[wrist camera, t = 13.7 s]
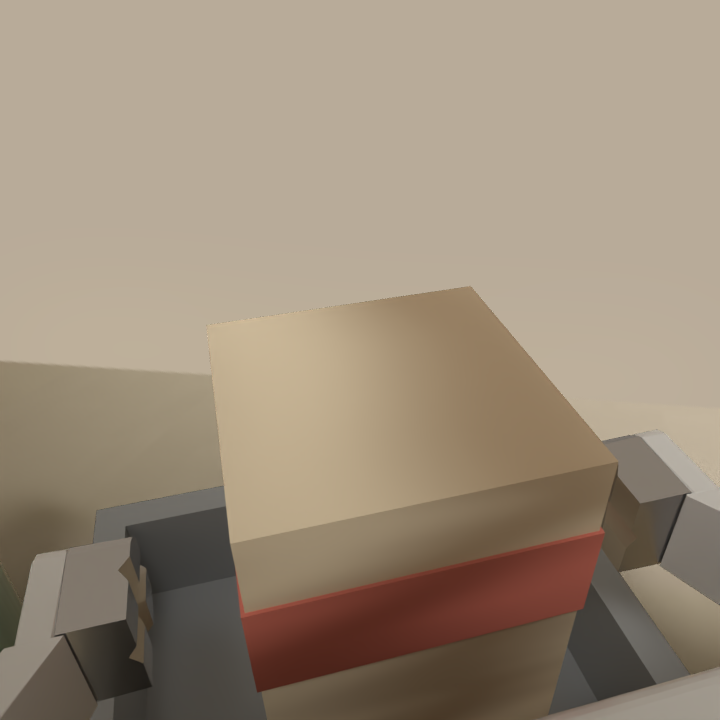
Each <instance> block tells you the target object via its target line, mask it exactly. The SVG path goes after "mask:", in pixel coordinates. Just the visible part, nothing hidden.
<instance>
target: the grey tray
mask: <svg viewBox="0 0 720 720" xmlns="http://www.w3.org/2000/svg"><path fill="white" fill-rule="evenodd" d="M128 537H135V538H136V540H137V543H138V546H139V548H140V565H141V566H143V567H145V568H146V569H147V572H148V575H149V579H150V584H151V589H152V597H153V608H154V624H153V626H152V627H151V628H150V630H149V631H148V635H149V638H150V641H151V644H152V647H153V679H152V687H150V688H146V689H143V690H139V691H135V692H132V693H128V694H124V695H121V696H117V697H113V698H110V699H106V700H102V701H99V702H97V705H98V706H97V708H96V709H95V711H94V713H93V715H92V716H91V718H90V720H267V716H266V711H265V707H264V702H263V697H262V692H258V693H257V690H256V685H255V681H254V676H253V672H252V667H251V662H250V658H249V653H248V649H247V644H246V639H245V635H244V630H243V626H242V621H241V615H240V606H239V597H238V589H237V580H236V571H235V564H234V560H233V555H232V550H231V545H230V538H229V528H228V519H227V510H226V501H225V492H224V486H220V487H215V488H210V489H204V490H199V491H194V492H189V493H184V494H179V495H173V496H168V497H163V498H158V499H153V500H147V501H142V502H137V503H132V504H127V505H121V506H116V507H111V508H106V509H101V510H97V512H96V521H95V530H94V538H93V544H95V543H100V542H106V541H112V540H117V539H123V538H128ZM688 675H690V674H689V672H688V671H687V669H686V668H685V666H684V665H683V663H682V662H681V661H680V659H679V658H678V656H677V655H676V653H675V652H674V651H673V649H672V648H671V646H670V645H669V643H668V642H667V641H666V639H665V638H664V636H663V635H662V633H661V632H660V631H659V629H658V628H657V626H656V625H655V623H654V622H653V620H652V619H651V618H650V616H649V615H648V613H647V612H646V610H645V609H644V608H643V606H642V605H641V603H640V602H639V600H638V599H637V598H636V596H635V595H634V593H633V592H632V590H631V589H630V588H629V586H628V585H627V583H626V582H625V580H624V579H623V577H622V576H621V575H620V573H619V572H618V571H617V570H616V568H615V567H614V566H613V564H612V563H611V561H610V560H609V559H608V557H607V556H606V554H605V553H604V552H603V550H602V549H600V552H599V556H598V559H597V563H596V566H595V570H594V573H593V577H592V580H591V584H590V587H589V591H588V594H587V598H586V601H585V605H584V608H583V609H581V610H577V613H576V616H575V620H574V624H573V627H572V631H571V634H570V638H569V641H568V645H567V649H566V652H565V656H564V659H563V663H562V667H561V670H560V674H559V677H558V681H557V685H556V688H555V692H554V695H553V699H552V703H551V706H550V710H549V713H548V715H551V714H555V713H558V712H562V711H565V710H569V709H572V708H576V707H579V706H583V705H586V704H590V703H593V702H597V701H600V700H604V699H607V698H611V697H614V696H618V695H621V694H625V693H628V692H632V691H635V690H639V689H642V688H646V687H650V686H653V685H657V684H660V683H664V682H667V681H671V680H674V679H678V678H681V677H685V676H688Z"/></svg>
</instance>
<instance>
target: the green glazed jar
mask: <svg viewBox="0 0 720 720" xmlns="http://www.w3.org/2000/svg"><path fill="white" fill-rule="evenodd" d="M22 606H23V603H22V601H21V599H20V597H19V596H18V594H17V592H16V590H15V588H14V586H13V584H12V582H11V580H10V579H9V577H8V575H7V573H6V571H5V569H4V567H3V565H2V563H1V562H0V653H1V651H2V650H3V649H4V648H8V647H12V646H14V644H15V640H16V635H17V630H18V625H19V621H20V616H21V611H22Z"/></svg>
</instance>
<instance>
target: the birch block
mask: <svg viewBox="0 0 720 720" xmlns="http://www.w3.org/2000/svg"><path fill="white" fill-rule="evenodd" d="M207 335H208V345H209V354H210V363H211V372H212V381H213V391H214V400H215V409H216V418H217V427H218V437H219V446H220V455H221V464H222V473H223V483H224V492H225V501H226V510H227V519H228V528H229V538H230V545H231V550H232V555H233V560H234V564H235V571H236V580H237V589H238V597H239V606H240V615H241V621H242V626H243V630H244V635H245V639H246V644H247V649H248V653H249V658H250V662H251V667H252V672H253V676H254V681H255V685H256V690H257V693H258V692H262V697H263V702H264V707H265V711H266V716H267V720H533V719H537V718H540V717H544V716H547V715H548V713H549V710H550V706H551V703H552V699H553V695H554V692H555V688H556V685H557V681H558V677H559V674H560V670H561V667H562V663H563V659H564V656H565V652H566V649H567V645H568V641H569V638H570V634H571V631H572V627H573V624H574V620H575V616H576V613H577V610H581V609H583V608H584V605H585V601H586V598H587V594H588V591H589V587H590V584H591V580H592V577H593V573H594V570H595V566H596V563H597V559H598V556H599V552H600V549H601V545H602V542H603V538H604V535H605V532H604V531H603V529H602V528H601V523H602V519H603V516H604V512H605V509H606V505H607V502H608V498H609V494H610V491H611V487H612V484H613V480H614V476H615V473H616V469H617V466H618V462H619V461H618V460H617V459H616V458H615V457H614V456H613V454H612V453H611V452H610V451H609V450H608V448H607V447H606V446H605V445H604V444H603V442H602V441H601V440H600V439H599V438H598V437H597V435H596V434H595V433H594V432H593V431H592V429H591V428H590V427H589V426H588V425H587V424H586V422H585V421H584V420H583V419H582V418H581V416H580V415H579V414H578V413H577V412H576V410H575V409H574V408H573V407H572V406H571V405H570V403H569V402H568V401H567V400H566V399H565V397H564V396H563V395H562V394H561V393H560V392H559V390H558V389H557V388H556V387H555V386H554V385H553V383H552V382H551V381H550V380H549V379H548V377H547V376H546V375H545V374H544V373H543V371H542V370H541V369H540V368H539V367H538V365H537V364H536V363H535V362H534V361H533V359H532V358H531V357H530V356H529V355H528V354H527V352H526V351H525V350H524V349H523V348H522V347H521V346H520V344H519V343H518V342H517V341H516V339H515V338H514V337H513V336H512V335H511V333H510V332H509V331H508V330H507V329H506V327H505V326H504V325H503V324H502V323H501V322H500V321H499V319H498V318H497V317H496V316H495V315H494V313H493V312H492V311H491V310H490V309H489V307H488V306H487V305H486V304H485V303H484V301H483V300H482V299H481V298H480V297H479V295H478V294H477V293H476V292H475V291H474V290H473V288H472V287H470V286H469V287H462V288H455V289H449V290H442V291H435V292H428V293H422V294H415V295H408V296H401V297H394V298H387V299H380V300H374V301H368V302H360V303H353V304H346V305H340V306H333V307H326V308H319V309H312V310H306V311H299V312H292V313H285V314H278V315H272V316H265V317H258V318H251V319H245V320H238V321H231V322H224V323H217V324H210V325H207Z"/></svg>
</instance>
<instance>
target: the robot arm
mask: <svg viewBox="0 0 720 720" xmlns="http://www.w3.org/2000/svg"><path fill="white" fill-rule="evenodd" d="M602 442H603V444H604V445H605V446H606V447H607V448H608V450H609V451H610V452H611V453H612V454H613V456H614V457H615V458H616V459H617V460H618V461H619V462H618V466H617V469H616V473H615V476H614V480H613V484H612V487H611V491H610V494H609V498H608V502H607V505H606V509H605V512H604V516H603V519H602V523H601V528H602V529H603V531H604V532H605V535H604V538H603V542H602V545H601V549H602V550H603V552H604V553H605V554H606V556H607V557H608V559H609V560H610V561H611V563H612V564H613V566H614V567H615V568H616V570H617V571H618V572H623V571H627V570H632V569H637V568H641V567H646V566H651V565H655V564H660V563H661V564H660V566H661V567H662V568H664V569H665V570H667V571H668V572H670V573H671V574H673V575H674V576H676V577H677V578H679V579H681V580H682V581H684V582H685V583H687V584H688V585H690V586H691V587H693V588H694V589H696V590H697V591H699V592H700V593H702V594H703V595H705V596H706V597H708V598H709V599H711V600H712V601H714V602H715V603H717V604H718V605H720V487H718V486H717V485H716V484H715V483H714V482H713V481H712V480H711V479H710V478H709V477H708V476H707V475H706V474H705V473H704V472H703V471H702V470H701V469H700V468H699V467H698V466H697V465H696V464H695V463H694V462H693V461H692V460H691V459H690V458H689V457H688V456H687V455H686V454H685V453H684V452H683V451H682V450H681V449H680V448H679V447H678V446H677V445H676V444H675V443H674V442H673V441H672V440H671V439H670V438H669V437H668V436H667V435H666V434H665V433H664V432H662V431H660V430H653V431H648V432H643V433H638V434H634V435H628V436H623V437H618V438H614V439H609V440H604V441H602ZM153 624H154V608H153V597H152V589H151V584H150V579H149V575H148V572H147V569H146V568H145V567H143V566H141V565H140V548H139V546H138V543H137V540H136V538H135V537H128V538H123V539H117V540H112V541H106V542H100V543H95V544H89V545H83V546H78V547H72V548H69V549H64V550H58V551H53V552H47V553H42V554H37V555H36V557H35V559H34V560H33V562H32V564H31V568H30V573H29V578H28V583H27V587H26V592H25V597H24V602H23V606H22V611H21V616H20V621H19V625H18V630H17V635H16V640H15V644H14V646H12V647H8V648H4V649H3V650H2V651H1V653H0V720H90V718H91V716H92V715H93V713H94V711H95V709H96V708H97V706H98V705H97V702H99V701H102V700H106V699H110V698H113V697H117V696H121V695H124V694H128V693H132V692H135V691H139V690H143V689H146V688H150V687H152V679H153V647H152V644H151V641H150V638H149V635H148V631H149V630H150V628H151V627H152V626H153ZM533 720H720V667H716V668H713V669H709V670H706V671H702V672H699V673H695V674H692V675H688V676H685V677H681V678H678V679H674V680H671V681H667V682H664V683H660V684H657V685H653V686H650V687H646V688H642V689H639V690H635V691H632V692H628V693H625V694H621V695H618V696H614V697H611V698H607V699H604V700H600V701H597V702H593V703H590V704H586V705H583V706H579V707H576V708H572V709H569V710H565V711H562V712H558V713H555V714H551V715H547V716H544V717H540V718H537V719H533Z"/></svg>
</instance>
